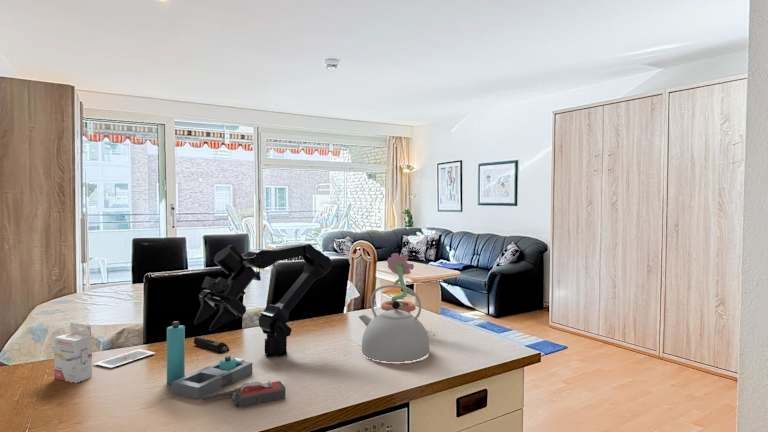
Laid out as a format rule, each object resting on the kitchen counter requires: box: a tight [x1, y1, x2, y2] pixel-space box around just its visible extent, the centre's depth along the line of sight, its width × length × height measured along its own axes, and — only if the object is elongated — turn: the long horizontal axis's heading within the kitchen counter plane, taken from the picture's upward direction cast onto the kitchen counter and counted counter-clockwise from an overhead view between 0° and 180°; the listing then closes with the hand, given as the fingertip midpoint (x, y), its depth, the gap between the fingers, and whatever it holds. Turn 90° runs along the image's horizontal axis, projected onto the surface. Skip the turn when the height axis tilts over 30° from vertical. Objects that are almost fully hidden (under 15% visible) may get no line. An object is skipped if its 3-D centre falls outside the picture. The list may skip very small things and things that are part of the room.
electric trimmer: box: [193, 336, 230, 354], centre depth 153 cm, size 4×16×3 cm, turn 58°
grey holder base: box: [171, 355, 253, 400], centre depth 123 cm, size 20×9×6 cm, turn 156°
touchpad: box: [93, 348, 156, 368], centre depth 140 cm, size 8×15×2 cm, turn 156°
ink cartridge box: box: [53, 322, 93, 384], centre depth 125 cm, size 9×5×15 cm, turn 71°
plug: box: [166, 320, 186, 387], centre depth 123 cm, size 4×4×16 cm
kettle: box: [358, 284, 430, 362], centre depth 151 cm, size 25×23×22 cm
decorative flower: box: [380, 252, 417, 314], centre depth 181 cm, size 15×14×30 cm
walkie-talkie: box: [201, 380, 287, 409], centre depth 113 cm, size 9×4×20 cm
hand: (202, 326), depth 129 cm, fingers open, 9 cm apart
